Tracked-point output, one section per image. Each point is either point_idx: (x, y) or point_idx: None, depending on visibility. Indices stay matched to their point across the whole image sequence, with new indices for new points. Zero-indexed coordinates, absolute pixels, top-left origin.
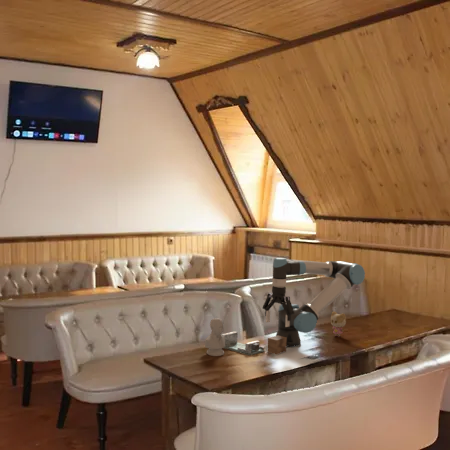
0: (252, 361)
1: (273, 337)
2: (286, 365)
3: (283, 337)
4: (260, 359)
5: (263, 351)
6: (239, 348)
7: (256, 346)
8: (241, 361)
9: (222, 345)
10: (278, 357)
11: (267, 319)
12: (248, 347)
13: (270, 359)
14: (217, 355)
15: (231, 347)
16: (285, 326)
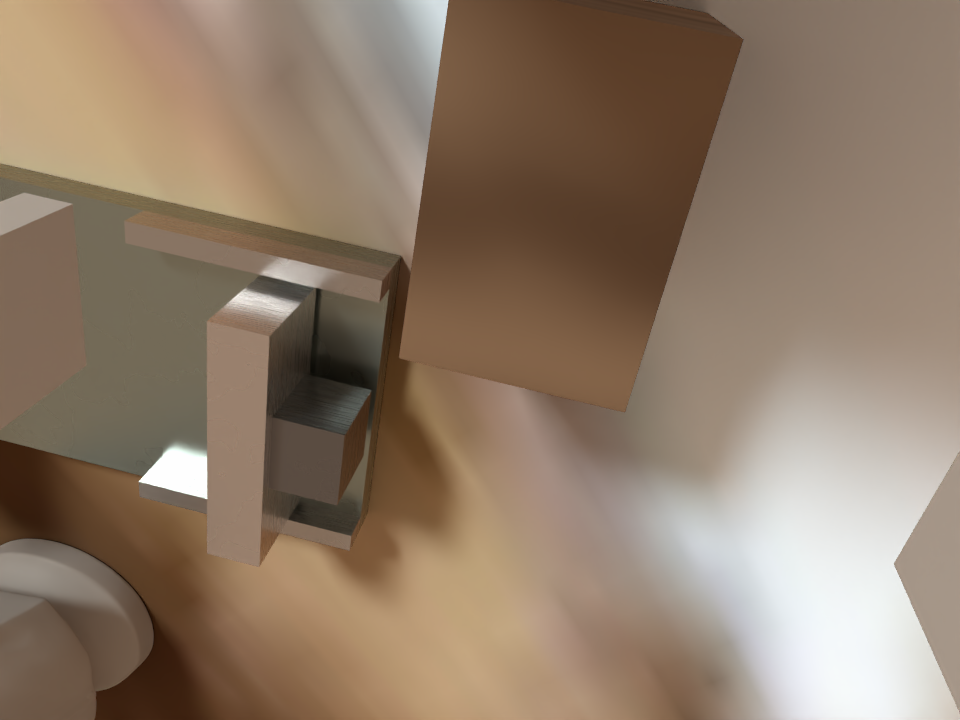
0: (515, 671)
1: (465, 251)
2: None
3: (666, 97)
4: (552, 582)
5: (398, 270)
6: (173, 502)
7: (348, 472)
8: (425, 710)
9: (68, 683)
10: (719, 407)
11: (10, 397)
12: (281, 527)
13: (658, 532)
14: (139, 665)
15: (34, 430)
16: (905, 573)
